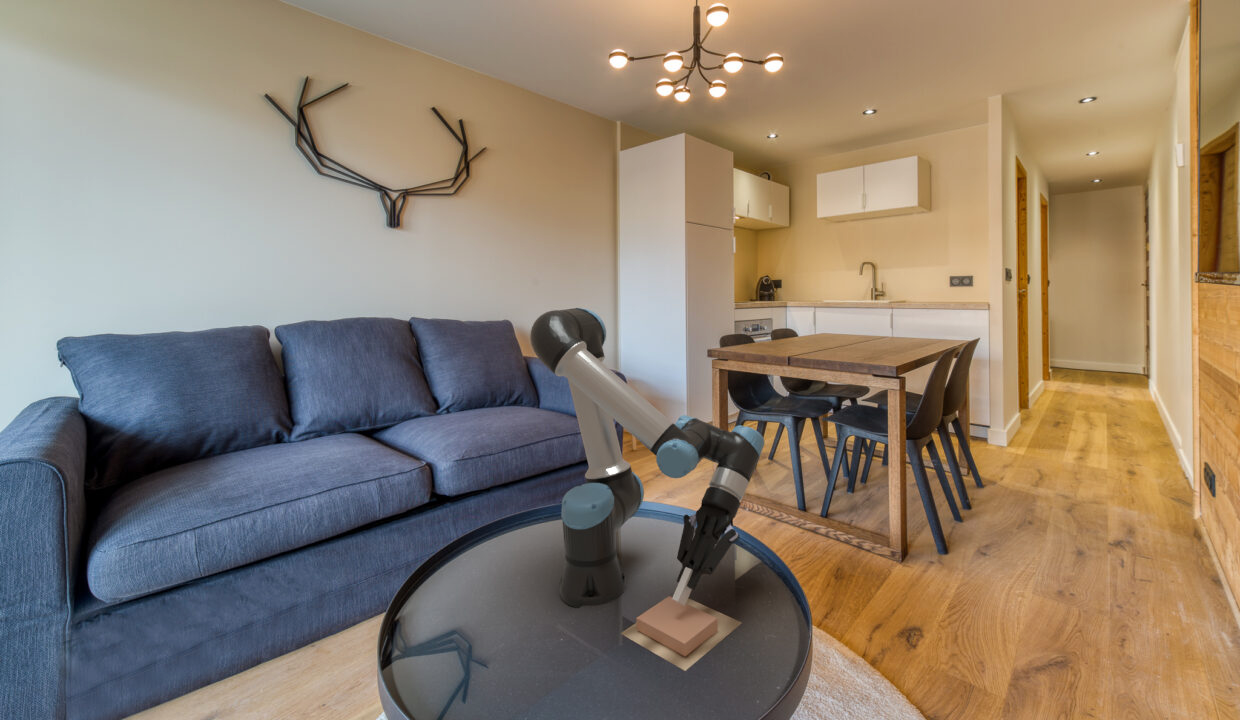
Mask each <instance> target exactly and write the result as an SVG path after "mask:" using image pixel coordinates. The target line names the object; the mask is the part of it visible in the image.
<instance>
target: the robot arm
mask: <svg viewBox="0 0 1240 720" xmlns="http://www.w3.org/2000/svg"><path fill="white" fill-rule="evenodd" d="M529 335H530V344H531V345H530V346H531V347H532V350H533V352H534V353H535V355H536V357H537V358H538V359H539V360H540V361H541V363H542V365H545V367H546V368H548V369H549V370H550V372H552V373H553V374H554V375H556V376H557V377H565V378H566V379H567V381H568V386H569V390H570V394H571V397H572V402H573V406H574V411H575V415H576V419H577V422H578V426H579V431H580V435H581V439H582V440H581V441H582V442H583V447H584V451H585V456H586V460H587V463H588V469H587V471H586V472H585V474H584V478H585V481H586V483H583V484H581V485H577V486H575V487H572V488H571V489H570V490H568V491H567V492H566V493H565V494H564V496H563V497H562V500H561V513H560V514H561V521H562V531H563V545H564V556H565V557H564V558H565V563H564V566H563V572H562V577H561V579H560V582H559V593H560V594H559V595H560V598H561V600H562V601H563V602H564V603H565V604H567V605H568V606H571V607H573V608H577V609H579V608H582V607H583V606H586V607H587V606H589V607H590V606H591V607H592V606H598V605H604V604H608V603H610V602H613V601H614V600H616V599H618V598H619V597H621V595H622V594H624V592H625V590H626V588H627V578H626V575H625V573H624V571H623V567H622V565H621V563H620V560H619V558H618V554H617V541H616V540H617V539H616V532H618V531H619V530H620V528H621V527H623V526H624V525H625V524H626V522H627V521H628V520H630V519H632V517H634V516H635V515H636V513H637V512H638V511H639V508H641V506H642V504H643V501H644V498H645V497H644V496H645V495H644V494H645V490H644V485H643V483H642V480H641V478H640V477H639V475H637V474H635V471H633V470H632V466H631V463H630V462H628V461H626V460H625V459H624V458H623V454H622V451H621V446H620V441H619V438H618V434H617V429H616V425H615V421H616V423H618V424H619V425H620V426H622V428H624V429H625V430H626V431H627V432H629V434H631V436H633V437H634V438H635V439H636V440H637V441H639V442H640V443H641V445H643V446H644V447H646V448H647V449H648V450H649V451H650V452H651V453H652V454H653V455H655V459H656V461H655V462H656V464H657V467H658V468H659V471H660V472H661V473H662V474H663V475H664V476H666V477H669V478H670V479H681V478H684V477H686V476H687V475H688V474H690V473H691V472H693V471H694V470H695V469H696V468H697V466H698V465H699V464H700V462H701V461H702V460H703V459H705V460H707V461H710V462H712V463H715V464H717V465H716V468H715V470H714V472H713V475H712V477H711V479H710V480H709V483H708V486H709V487H707V488H706V490H705V493H704V495H703V498H701V503H700V507H699V508H698V509H697V510H696V512H695V514H692V515H688V514H684V515H683V530H682V533H681V538H680V542H679V546H678V551H677V556H676V559H677V561H679V562H680V564H681V565H682V567H681V569H680V571H679V573H678V576H677V578H676V582H677V586H676V589H675V590H674V593H673V596H672V597H673V598H672V599H673V600H674V601H676V602H677V603H679V604H681V605H683V606H685V604H686V602H687V599H688V598H689V597H690V595H691V592H692V590H693V591H695V590H696V588H697V587H698V584H699V581H700V579H701V577H702V575H709V576H710V575H712V574H713V573H714V572H715V570H716V569H717V567H718V566H719V564H720V562H721V561H722V560H723V558H724V557H725V555H726V554H727V552H728V551H729V549H730V548H731V546H732V545H733V544H734V543H735V542H737V541H738V540H739V539H740V534H739V533H738V532H737V531H736V530H735V529H734V528H733V525H734V521H733V520H734V519H735V518H736V515H737V514H738V511H739V509H740V506H741V502H740V501H743V498H744V497H745V494H746V491H747V489H748V487H749V483H750V481H751V478H752V476H753V474H754V471H755V470H756V468H757V465H758V463H759V461H760V457H761V454H762V452H763V449H764V446H765V439H764V437H763V435H762V434H761V433H760V432H759V431H757V430H756V429H754V428H752V427H750V426H747V425H746V426H744V425H736V426H734V427H733V429H732V430H731V431H728V430H725V429H722V428H720V427H718V426H716V425H713V424H710V423H708V422H706V421H703V420H701V419H699V418H697V417H692V416H689V415H687V414H684V415H683V414H682V415H680V416H679V417H678V419H677V421H675V423H674V422H672V421H671V420H670V419H669V418H668V417H667V416H665V414H663V413H662V412H661V411H660V410H658V409H657V408H656V407H655V406H653V405H652V404H651V403H650V402H649V401H648V400H647V399H645V398H644V397H643V396H642V395H641V394H639V392H637V391H636V390H635V389H634V388H633V387H631V386H630V385H629V384H628V383H627V382H625V381H624V380H623V379H622V378H621V377H619V376H618V375H617V374H616V373H615V372H614V371H613V370H611V369H610V368H609V367H608V366H606V364H604V363H603V362H604V360H605V356H606V355H605V353H604V349H603V346H604V344H605V342H606V341H607V340H606V339H607V328H606V326H605V323H604V321H603V319H602V318H601V317H600V316H599V315H598V314H597V313H596V312H595V311H593V310H591V309H587V308H581V307H576V308H567V309H559V310H558V309H557V310H556V309H555V310H554V309H553V310H550V311H546V312H544V313H543V314H541V315H539V316H538V317H537V318H536V320H534V323H532V327H531V330H530V334H529ZM695 527H696V528H695ZM721 536H722V537H721Z"/></svg>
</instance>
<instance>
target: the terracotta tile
mask: <svg viewBox="0 0 1240 720" xmlns="http://www.w3.org/2000/svg"><path fill="white" fill-rule="evenodd" d="M672 598H673V596H671V595H669V596H667V597H665V598H664V599H663V600H660V602H658V603H657V604H655V605H654V606H652V607H650V608H649V609H647V610H646V611H645V612H643V613H642V614H640V615H639V616H637V617H636V618H635V619H636V623H637V630H638V631H640V632H642V633H644V634H645V635H647V636H649V637H651V638H653V639H654V640H656V641H658V642H660V643H662V644H663V645H665V646H667V647H669V648H671V649H672V650H674V651H676V652H678V653H680V654H681V655H683V656H685V657H686V656H687V655H688V654H689V653H690V652H692V651H693V650H694V649H695V648H697V647H698V646H699V645H700V644H701V643H703V642H704V641H705V640H706V639H708V638H709V637H710V636H711V635H713V634H714V633H715V632H716V631H717V630H718V625H717V618H716V617H714V616H711V615H709V614H707V613H705V612H703V611H701V610H699V609H696V608H694V607H692V606H690V605H688V604H685V606H683V605H681V604H679V603H677V602H676V601H674V600H673V599H672Z"/></svg>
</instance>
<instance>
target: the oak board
mask: <svg viewBox="0 0 1240 720" xmlns="http://www.w3.org/2000/svg"><path fill="white" fill-rule="evenodd" d="M686 604H688V605H690V606H692V607H694V608H696V609H699V610H701V611H703V612H705V613H707V614H709V615H711V616H714V617H716V618H717V625H718V630H717V631H716V632H715V633H714V634H713V635H711V636H710V637H709V638H708V639H706V640H705V641H704V642H703V643H701V644H700V645H699V646H698V647H697V648H695V649H694V650H693V651H692V652H690V653H689V654H688V655H687V656H686V657H685V656H683V655H681V654H680V653H678V652H676V651H674V650H672V649H671V648H669V647H667V646H665V645H663V644H662V643H660V642H658V641H656V640H654V639H653V638H651V637H649V636H647V635H645V634H644V633H642V632H640V631H638V630H637V622H635V623H633V624H632V625H630V627H628V628H627V629H625V630H623V631H622V632H621V633H620V635H622V636H624V637H626V638H627V639H629V640H631V641H632V642H634V643H636V644H637V645H639V646H641V647H643V648H644V649H646V650H648V651H649V652H652V653H653V654H654V655H656V656H659V657H660V658H662V659H663V660H665V661H667V662H669V663H670V664H672V665H673V666H675V667H678V668H679V669H681V670H683V671H684V672H687V670H689V669H690V668H691V667H692V666H693V665H694V664H695V663H697V662H698V661H699V660H701V658H703V657H704V656H705V655H707V653H708V652H709V651H711V650H713V648H715V647H716V646H717V645H718V644H719V643H720V642H721V641H722V640H724V639H725V638H727V636H728V635H730V634H731V633H732V632H733V631H735V630H736V629H737V628H738V627H739V626H741V624H743V622H741V621H739V620H737V619H735V618H732V617H730V616H729V615H726V614H724V613H721V612H719V611H717V610H715V609H713V608H710V607H708V606H706V605H704V604H702V603H700V602H698V601H696V600H693V599H691V598H689V597H688V599H687V602H686Z"/></svg>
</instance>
